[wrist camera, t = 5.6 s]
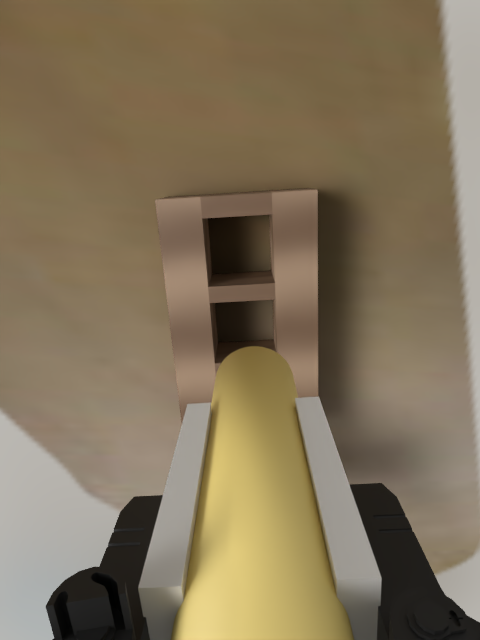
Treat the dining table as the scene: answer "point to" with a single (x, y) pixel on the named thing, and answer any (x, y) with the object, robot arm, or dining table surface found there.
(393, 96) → the dining table surface
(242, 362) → the peg
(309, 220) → the hole block
